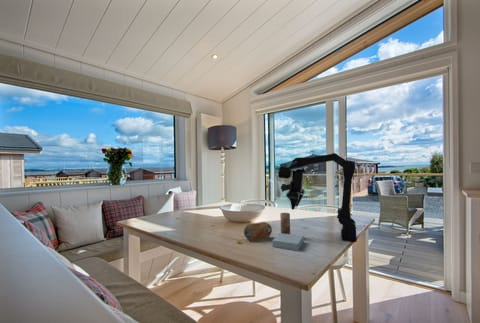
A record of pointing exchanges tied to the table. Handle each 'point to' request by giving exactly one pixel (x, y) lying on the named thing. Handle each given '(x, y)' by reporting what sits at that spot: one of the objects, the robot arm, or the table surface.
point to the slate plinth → (288, 241)
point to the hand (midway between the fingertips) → (294, 207)
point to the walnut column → (285, 223)
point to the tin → (257, 231)
